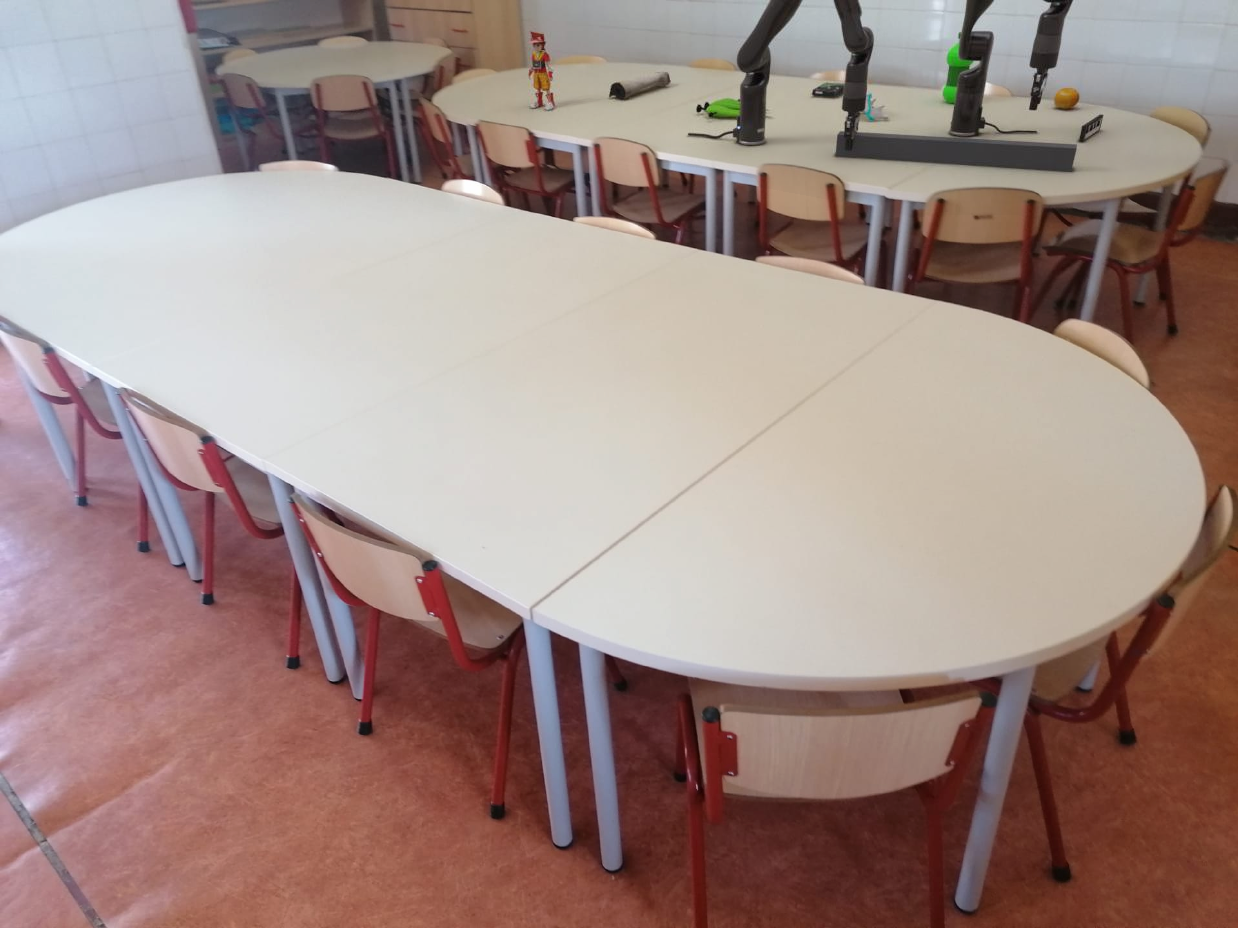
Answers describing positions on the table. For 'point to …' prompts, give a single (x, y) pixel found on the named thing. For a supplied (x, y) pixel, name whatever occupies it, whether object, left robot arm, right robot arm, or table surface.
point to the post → (959, 151)
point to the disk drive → (829, 90)
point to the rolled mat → (638, 84)
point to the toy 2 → (722, 108)
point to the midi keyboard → (1091, 127)
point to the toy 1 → (541, 71)
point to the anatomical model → (873, 109)
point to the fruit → (1066, 98)
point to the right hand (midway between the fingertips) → (1034, 107)
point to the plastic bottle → (954, 72)
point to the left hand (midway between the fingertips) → (849, 147)
